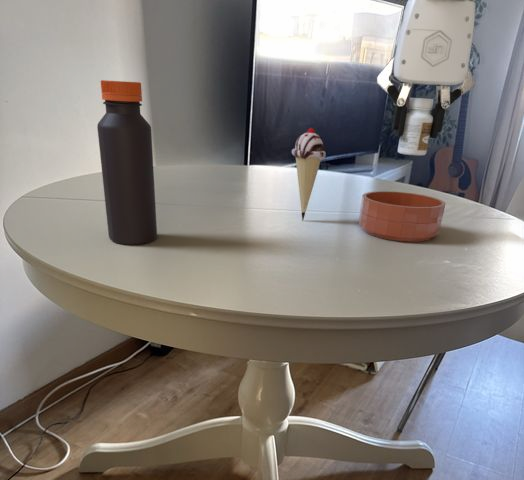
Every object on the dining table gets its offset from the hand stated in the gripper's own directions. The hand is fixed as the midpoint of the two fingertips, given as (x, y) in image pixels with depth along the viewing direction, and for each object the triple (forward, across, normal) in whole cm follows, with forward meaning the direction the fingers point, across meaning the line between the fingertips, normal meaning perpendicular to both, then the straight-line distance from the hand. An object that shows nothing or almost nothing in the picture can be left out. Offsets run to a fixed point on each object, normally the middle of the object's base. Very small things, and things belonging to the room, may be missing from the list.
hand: (415, 135), depth 74 cm
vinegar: (+15, -41, -14) cm, 46 cm away
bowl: (+15, 0, 0) cm, 15 cm away
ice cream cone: (+15, -16, +4) cm, 23 cm away
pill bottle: (+3, 0, 0) cm, 3 cm away
